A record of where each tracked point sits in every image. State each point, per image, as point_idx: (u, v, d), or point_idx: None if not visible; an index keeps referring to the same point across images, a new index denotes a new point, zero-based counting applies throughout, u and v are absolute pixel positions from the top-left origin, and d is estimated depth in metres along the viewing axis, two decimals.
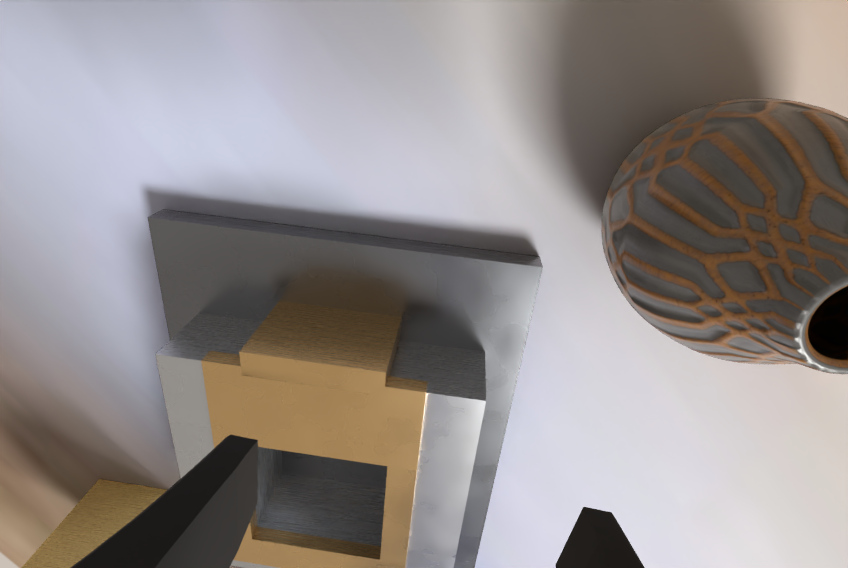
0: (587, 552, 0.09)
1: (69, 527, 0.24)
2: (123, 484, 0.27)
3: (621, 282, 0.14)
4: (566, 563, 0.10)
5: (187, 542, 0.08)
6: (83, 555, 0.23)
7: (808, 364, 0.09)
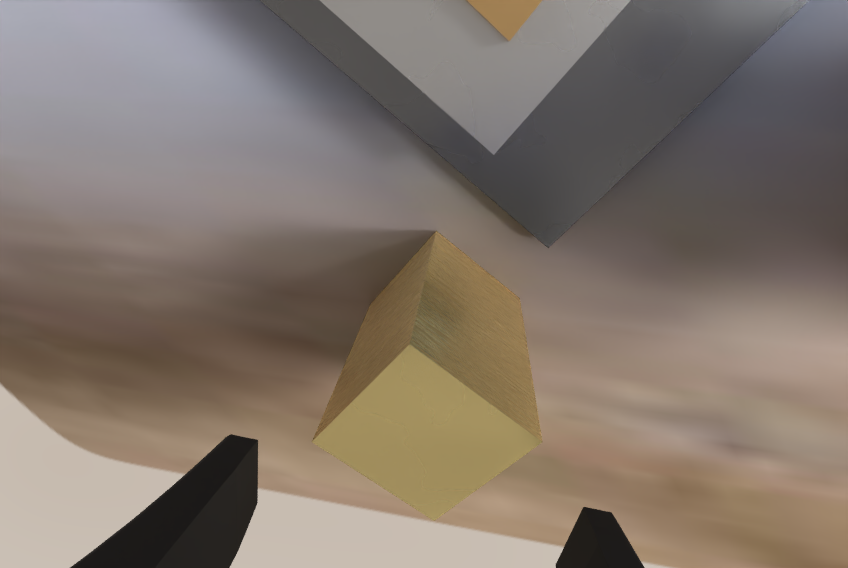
0: (587, 552, 0.09)
1: (362, 334, 0.16)
2: (392, 280, 0.19)
3: None
4: (566, 563, 0.10)
5: (187, 542, 0.08)
6: (385, 322, 0.15)
7: None
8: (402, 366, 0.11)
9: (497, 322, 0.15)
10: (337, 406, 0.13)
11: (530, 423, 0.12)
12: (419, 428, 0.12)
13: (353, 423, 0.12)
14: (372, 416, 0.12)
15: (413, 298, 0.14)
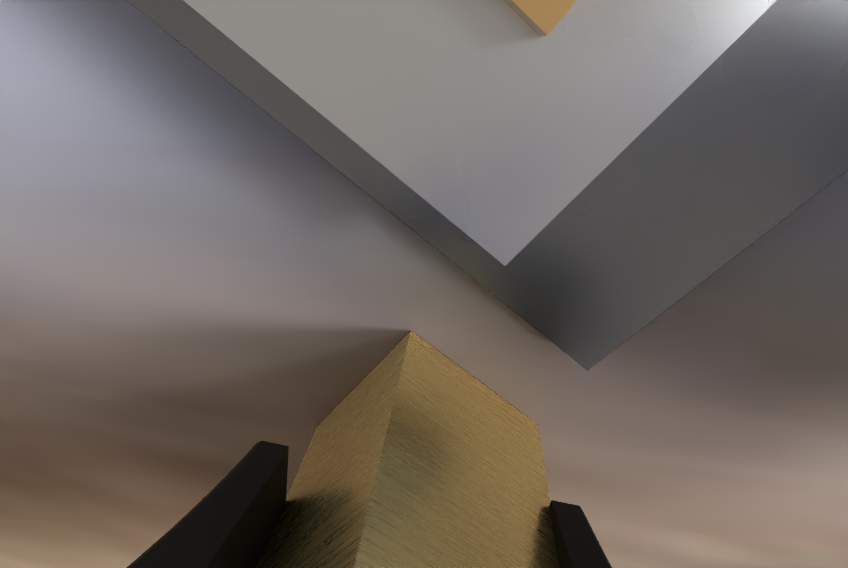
0: None
1: (290, 508, 0.10)
2: (347, 397, 0.12)
3: None
4: None
5: (227, 550, 0.08)
6: (315, 523, 0.08)
7: None
8: None
9: (506, 511, 0.09)
10: None
11: None
12: None
13: None
14: None
15: (355, 509, 0.07)
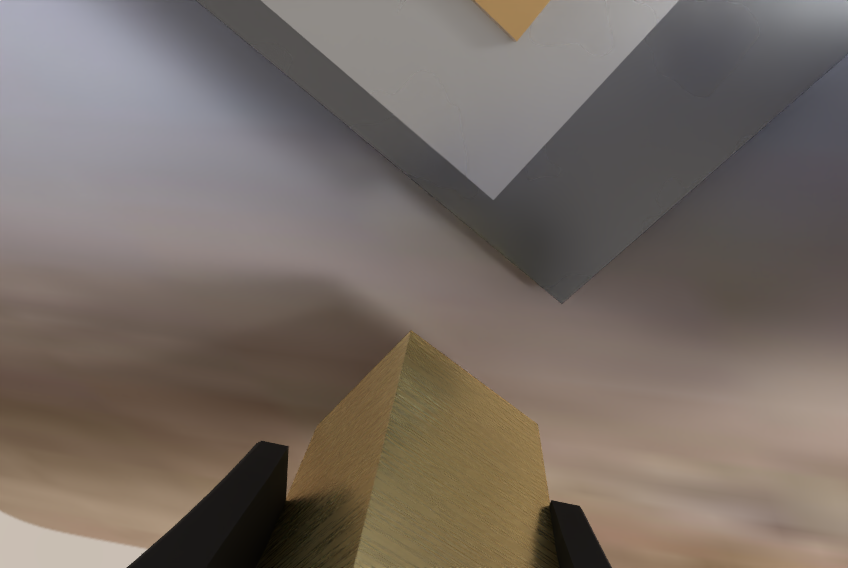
0: None
1: (290, 507, 0.10)
2: (347, 397, 0.12)
3: None
4: None
5: (227, 550, 0.08)
6: (315, 522, 0.08)
7: None
8: None
9: (506, 510, 0.09)
10: None
11: None
12: None
13: None
14: None
15: (355, 508, 0.07)
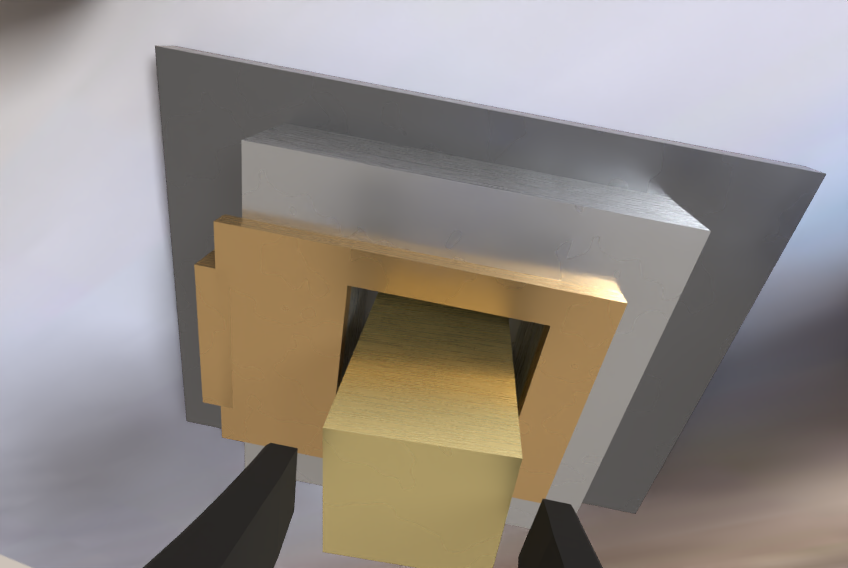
0: (544, 543, 0.09)
1: None
2: None
3: None
4: (527, 555, 0.10)
5: (238, 553, 0.08)
6: None
7: None
8: (334, 450, 0.10)
9: (465, 337, 0.14)
10: None
11: (504, 442, 0.10)
12: (397, 498, 0.11)
13: (340, 520, 0.11)
14: (349, 506, 0.11)
15: None
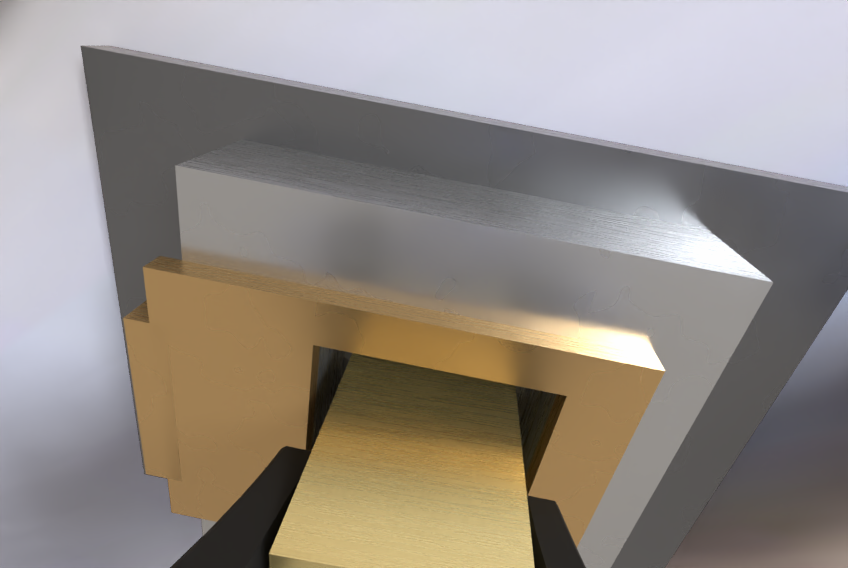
0: None
1: None
2: None
3: None
4: None
5: (259, 557, 0.08)
6: None
7: None
8: None
9: (461, 404, 0.11)
10: None
11: None
12: None
13: None
14: None
15: None
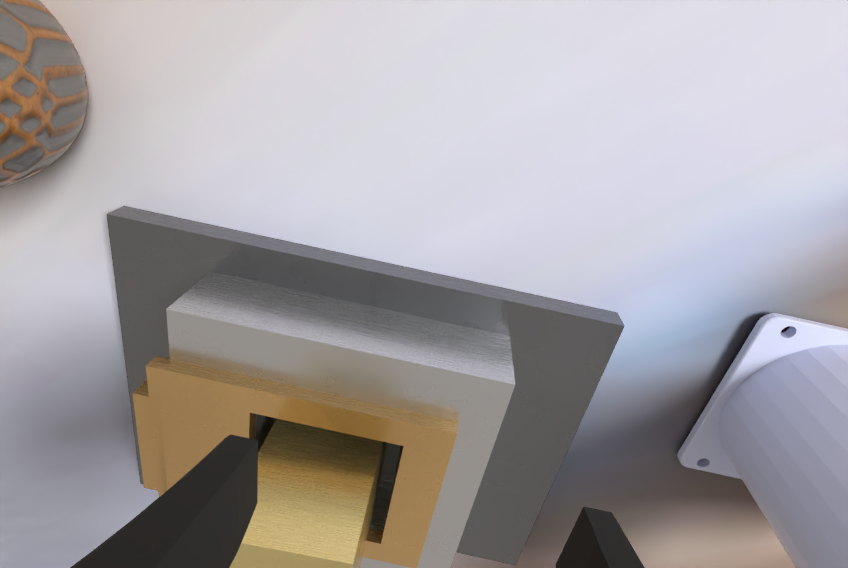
0: (587, 552, 0.09)
1: None
2: None
3: None
4: (566, 563, 0.10)
5: (187, 542, 0.08)
6: None
7: None
8: None
9: (344, 448, 0.18)
10: None
11: (344, 549, 0.14)
12: None
13: None
14: None
15: None
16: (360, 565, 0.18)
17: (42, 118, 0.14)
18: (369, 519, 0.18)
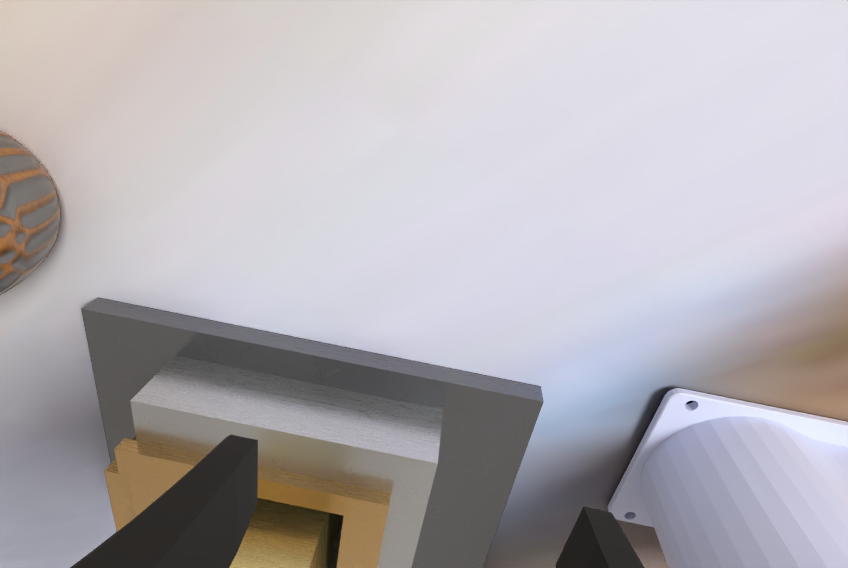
0: (587, 552, 0.09)
1: None
2: None
3: None
4: (566, 563, 0.10)
5: (187, 542, 0.08)
6: None
7: None
8: None
9: (293, 515, 0.20)
10: None
11: None
12: None
13: None
14: None
15: None
16: None
17: (17, 248, 0.16)
18: None
